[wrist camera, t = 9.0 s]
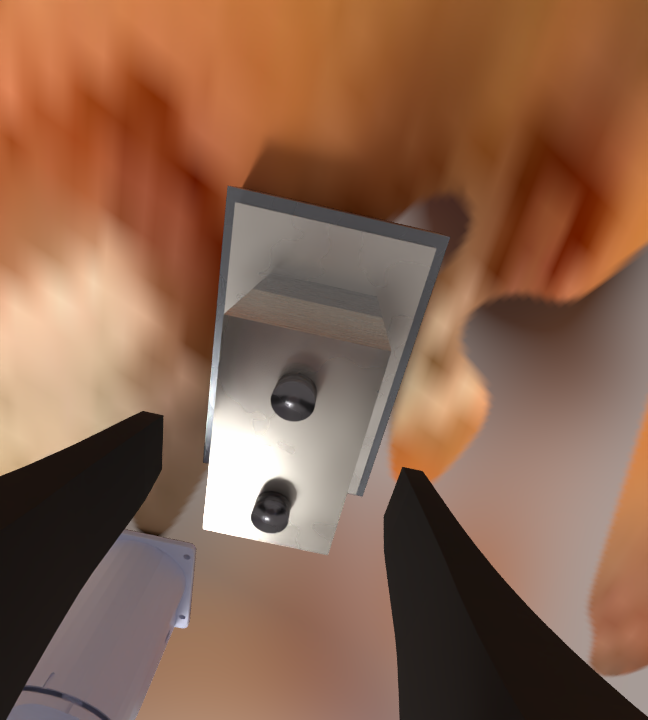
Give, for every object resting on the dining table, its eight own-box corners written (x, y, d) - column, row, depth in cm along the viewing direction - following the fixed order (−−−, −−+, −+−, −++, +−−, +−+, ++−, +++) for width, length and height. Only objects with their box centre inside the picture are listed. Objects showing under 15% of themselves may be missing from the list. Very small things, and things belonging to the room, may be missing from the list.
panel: (361, 471, 22) (362, 503, 20) (215, 440, 22) (199, 468, 19) (439, 233, 16) (453, 238, 14) (241, 187, 16) (223, 184, 14)
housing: (334, 448, 18) (326, 571, 12) (247, 429, 18) (195, 543, 12) (376, 296, 15) (394, 360, 9) (270, 272, 15) (215, 321, 9)
